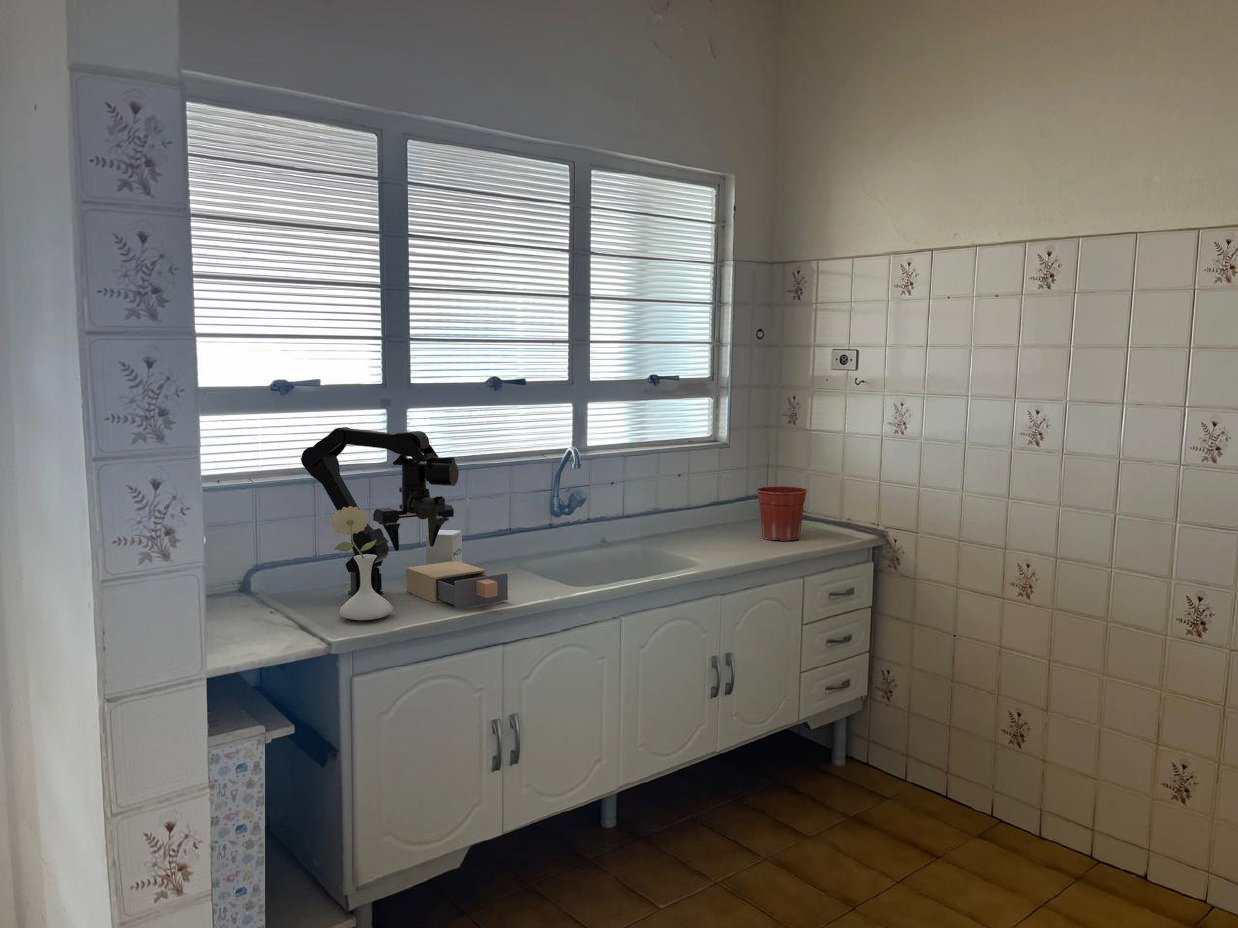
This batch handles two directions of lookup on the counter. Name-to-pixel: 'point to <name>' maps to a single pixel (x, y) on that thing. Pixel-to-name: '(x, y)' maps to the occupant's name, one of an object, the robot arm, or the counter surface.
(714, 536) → the counter surface
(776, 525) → the flower pot
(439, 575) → the sleeve
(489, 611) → the counter surface
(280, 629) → the counter surface
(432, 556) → the supplement box
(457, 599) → the tray
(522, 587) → the counter surface
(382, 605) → the flower in vase
